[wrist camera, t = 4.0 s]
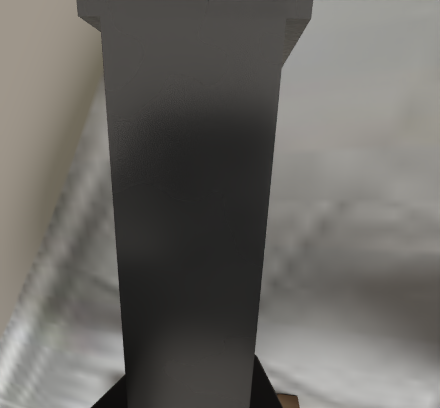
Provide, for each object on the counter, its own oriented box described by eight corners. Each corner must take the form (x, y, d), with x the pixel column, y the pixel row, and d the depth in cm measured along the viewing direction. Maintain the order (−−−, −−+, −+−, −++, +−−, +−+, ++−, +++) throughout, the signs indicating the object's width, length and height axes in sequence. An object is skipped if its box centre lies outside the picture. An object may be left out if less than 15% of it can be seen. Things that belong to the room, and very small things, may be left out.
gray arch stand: (323, 14, 10) (593, -380, 2) (272, 413, 15) (301, 693, 8) (143, 13, 10) (-134, -315, 3) (156, 399, 16) (74, 649, 8)
